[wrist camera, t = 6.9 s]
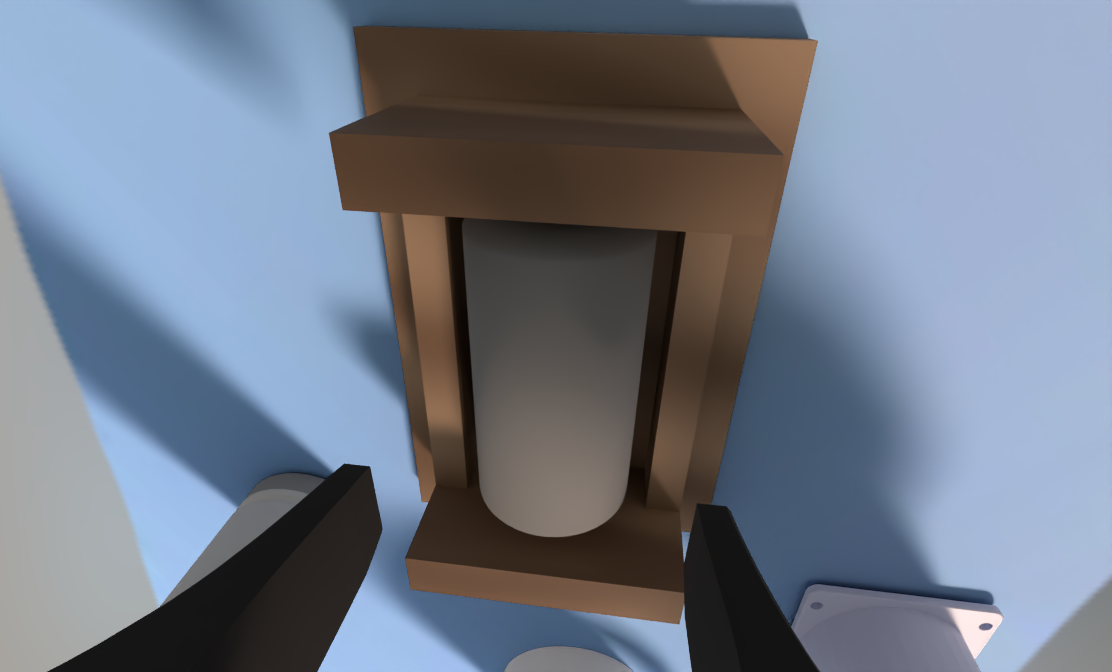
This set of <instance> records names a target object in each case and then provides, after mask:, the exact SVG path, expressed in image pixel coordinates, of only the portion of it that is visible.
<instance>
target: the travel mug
mask: <svg viewBox="0 0 1112 672" xmlns="http://www.w3.org/2000/svg"><path fill="white" fill-rule="evenodd" d="M324 480H325V479H323V478H319V477H316V476H312V475H307V474H300V473H283V474H278V475H273V476H270V477H268V478H266V479H263V480H262V481H261V482H259V483H258V484H257V485H256V486H255V487H254V488H253V489H252V491H251V492H250V493H249V494H248V496H247V497H246V498H245V499H244V501H243V502H242V503H241V505H240V506H239V507H238V509H237V510H236V512H235V513H233V515H232V516H231V517H230V518H229V520H228V521H227V522H226V524H225V525H224V526H223V527H222V529H221V530H220V531H219V532H218V534H217V535H216V536H215V537H214V539H213V540H212V541H211V543H210V544H209V545H208V546H207V548H206V549H205V550H204V551H203V553H202V554H201V555H200V557H199V558H198V559H197V560H196V562H195V563H194V564H193V565H192V567H191V568H190V569H189V570H188V572H187V573H186V574H185V576H184V577H183V578H182V579H181V581H180V582H179V583H178V584H177V586H176V587H175V588H174V589H173V591H172V592H171V593H170V595H169V596H168V597H167V598H166V600H165V601H164V602H163V603H162V605H164V604H166V603H167V602H169V601H170V600H172V599H173V598H175V597H176V596H178V595H179V594H181V593H182V592H184V591H185V590H187V589H188V588H190V587H191V586H192V585H194V584H195V583H197V582H198V581H200V580H201V579H202V578H204V577H205V576H207V575H208V574H209V573H211V572H212V571H214V570H215V569H216V568H218V567H219V566H220V565H222V564H223V563H224V562H226V561H227V560H228V559H229V558H231V557H232V556H233V555H235V554H236V553H237V552H239V551H240V550H241V549H242V548H244V547H245V546H246V545H248V544H249V543H250V542H252V541H253V540H254V539H255V538H257V537H258V536H259V535H260V534H262V533H263V532H264V531H265V530H266V529H268V528H269V527H270V526H271V525H272V524H274V523H275V522H276V521H277V520H278V519H280V518H281V517H282V516H283V515H285V514H286V513H287V512H288V511H289V510H291V509H292V508H293V507H294V506H295V505H296V504H298V503H299V502H300V501H301V500H302V499H303V498H305V497H306V496H307V495H308V494H309V493H310V492H312V491H313V490H314V489H315V488H316V487H317V486H318V485H320V484H321V483H322V482H323V481H324ZM162 605H161V606H162ZM161 606H160V607H161Z"/></svg>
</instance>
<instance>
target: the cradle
mask: <svg viewBox="0 0 1112 672" xmlns="http://www.w3.org/2000/svg"><path fill="white" fill-rule="evenodd" d="M353 29H354V35H355V42H356V49H357V56H358V63H359V70H360V77H361V84H362V91H363V98H364V105H365V112H366V117H365V118H362V119H360V120H358V121H355V122H353V123H351V124H348V125H346V126H344V127H342V128H339V129H337V130H335V131H332V132H330V133H329V136H330V141H331V147H332V153H333V158H334V164H335V169H336V175H337V181H338V186H339V192H340V197H341V203H342V209H343V210H350V211H366V212H380V216H381V222H382V229H383V236H384V243H385V250H386V257H387V264H388V271H389V278H390V285H391V292H392V299H393V306H394V313H395V319H396V326H397V333H398V340H399V347H400V354H401V361H402V368H403V375H404V382H405V389H406V396H407V403H408V410H409V416H410V423H411V430H412V437H413V444H414V451H415V458H416V465H417V472H418V479H419V486H420V493H421V500H422V502H428V505H427V507H426V510H425V512H424V514H423V517H422V519H421V521H420V524H419V526H418V529H417V531H416V533H415V536H414V538H413V541H412V543H411V545H410V548H409V550H408V553H407V555H406V557H405V560H406V566H407V572H408V577H409V583H410V588H411V590H419V591H426V592H434V593H442V594H450V595H457V596H465V597H473V598H480V599H488V600H496V601H504V602H511V603H519V604H527V605H534V606H542V607H550V608H557V609H565V610H573V611H581V612H588V613H596V614H604V615H611V616H619V617H627V618H635V619H642V620H650V621H658V622H665V623H673V624H679V623H680V619H681V614H682V610H683V606H684V559H683V546H682V534H681V531H684V532H691V529H692V524H693V519H694V514H695V509H696V505H697V503H700V504H709V505H711V503H712V499H713V494H714V490H715V486H716V481H717V477H718V473H719V468H720V464H721V460H722V455H723V451H724V447H725V442H726V438H727V434H728V429H729V425H730V421H731V416H732V412H733V408H734V403H735V399H736V395H737V390H738V386H739V381H740V377H741V373H742V368H743V364H744V360H745V355H746V351H747V347H748V342H749V338H750V334H751V329H752V325H753V321H754V316H755V312H756V308H757V303H758V299H759V295H760V290H761V286H762V282H763V277H764V273H765V269H766V264H767V260H768V255H769V251H770V247H771V242H772V238H773V234H774V229H775V225H776V221H777V216H778V212H779V208H780V203H781V199H782V195H783V190H784V186H785V182H786V177H787V173H788V169H789V164H790V160H791V156H792V151H793V147H794V143H795V138H796V134H797V130H798V125H799V121H800V116H801V112H802V108H803V103H804V99H805V95H806V90H807V86H808V82H809V77H810V73H811V69H812V64H813V60H814V56H815V51H816V47H817V43H818V41H817V40H812V39H798V38H764V37H730V36H697V35H663V34H629V33H596V32H562V31H528V30H495V29H461V28H427V27H394V26H357V27H353ZM464 218H477V219H493V220H509V221H524V222H540V223H556V224H572V225H588V226H604V227H620V228H636V229H651V230H657V239H656V247H655V256H654V264H653V273H652V281H651V290H650V298H649V306H648V315H647V323H646V332H645V340H644V349H643V357H642V366H641V374H640V383H639V391H638V399H637V408H636V416H635V425H634V433H633V442H632V450H631V459H630V467H629V475H628V484H627V491H626V495H625V498H624V500H623V503H622V505H621V506H620V508H619V509H618V511H617V512H616V513H615V514H614V515H613V516H612V517H611V518H610V519H608V520H607V521H606V522H605V523H603V524H601V525H600V526H598V527H596V528H594V529H592V530H590V531H587V532H584V533H581V534H577V535H572V536H565V537H544V536H536V535H532V534H528V533H525V532H522V531H519V530H517V529H515V528H513V527H511V526H509V525H507V524H505V523H504V522H503V521H501V520H500V519H499V518H497V517H496V516H495V515H494V514H493V513H492V512H491V510H490V509H489V508H488V507H487V505H486V503H485V502H484V500H483V497H482V494H481V490H480V483H479V469H478V454H477V440H476V425H475V410H474V396H473V381H472V367H471V352H470V337H469V323H468V308H467V294H466V279H465V264H464V250H463V235H462V222H463V220H464Z"/></svg>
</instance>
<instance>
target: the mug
mask: <svg viewBox="0 0 1112 672" xmlns="http://www.w3.org/2000/svg"><path fill="white" fill-rule="evenodd" d="M504 672H633V671H632V670H631V669H630V668H628V667H627V666H626V665H624V664H623V663H621V662H619V661H617V660H616V659H614V658H611V657H609V656H607V655H604V654H601V653H598V652H595V651H592V650H587V649H583V648H576V647H566V646H552V647H542V648H537V649H533V650H529V651H527V652H524V653H522V654H520V655H518V656H517V657H515V658H514V659H513V660H511V661H510V662H509V664H508V665H507V667H506V669H505V671H504Z"/></svg>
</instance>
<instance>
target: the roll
mask: <svg viewBox="0 0 1112 672" xmlns="http://www.w3.org/2000/svg"><path fill="white" fill-rule="evenodd" d="M462 235H463V250H464V264H465V279H466V294H467V308H468V323H469V337H470V352H471V367H472V381H473V396H474V410H475V425H476V440H477V454H478V469H479V483H480V490H481V494H482V497H483V500H484V502H485V503H486V505H487V507H488V508H489V509H490V510H491V512H492V513H493V514H494V515H495V516H496V517H497V518H499V519H500V520H501V521H503V522H504V523H505V524H507V525H509V526H511V527H513V528H515V529H517V530H519V531H522V532H525V533H528V534H532V535H536V536H544V537H565V536H572V535H577V534H581V533H584V532H587V531H590V530H592V529H594V528H596V527H598V526H600V525H601V524H603V523H605V522H606V521H607V520H608V519H610V518H611V517H612V516H613V515H614V514H615V513H616V512H617V511H618V509H619V508H620V506H621V505H622V503H623V500H624V498H625V495H626V491H627V484H628V475H629V467H630V459H631V450H632V442H633V433H634V425H635V416H636V408H637V399H638V391H639V383H640V374H641V366H642V357H643V349H644V340H645V332H646V323H647V315H648V306H649V298H650V290H651V281H652V273H653V264H654V256H655V247H656V239H657V230H651V229H636V228H620V227H604V226H588V225H572V224H556V223H540V222H524V221H509V220H493V219H477V218H464V220H463V222H462Z"/></svg>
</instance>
